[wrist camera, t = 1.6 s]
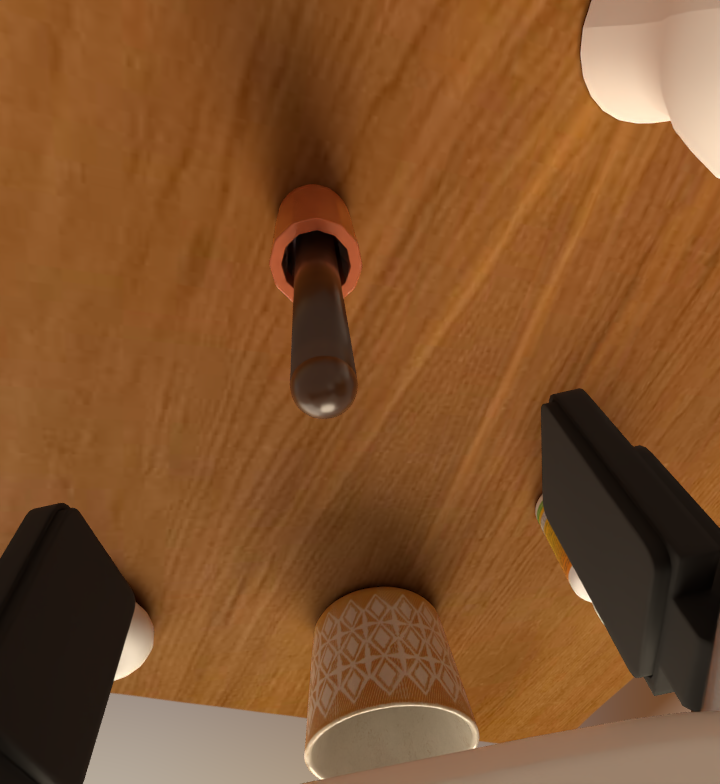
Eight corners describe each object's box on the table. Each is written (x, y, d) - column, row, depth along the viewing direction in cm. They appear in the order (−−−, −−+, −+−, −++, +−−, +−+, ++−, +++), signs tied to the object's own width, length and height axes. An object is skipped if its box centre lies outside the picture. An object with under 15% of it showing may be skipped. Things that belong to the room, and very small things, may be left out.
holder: (268, 193, 27) (258, 230, 22) (340, 176, 27) (351, 210, 21) (288, 263, 29) (284, 315, 24) (355, 248, 29) (369, 297, 23)
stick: (292, 212, 27) (280, 381, 13) (326, 204, 27) (352, 366, 13) (301, 246, 28) (299, 438, 14) (334, 238, 28) (366, 424, 14)
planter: (335, 561, 43) (344, 693, 34) (472, 590, 46) (512, 716, 37) (284, 652, 48) (280, 785, 40) (409, 671, 52) (431, 797, 43)
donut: (61, 558, 40) (6, 630, 43) (43, 597, 37) (-15, 671, 40) (181, 605, 44) (122, 667, 47) (173, 643, 41) (111, 707, 44)
